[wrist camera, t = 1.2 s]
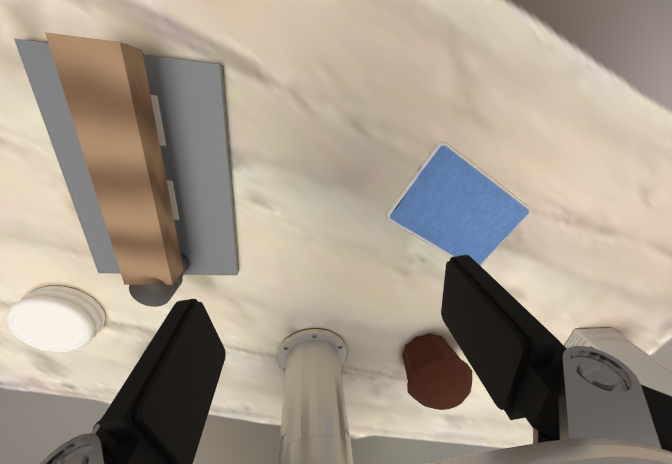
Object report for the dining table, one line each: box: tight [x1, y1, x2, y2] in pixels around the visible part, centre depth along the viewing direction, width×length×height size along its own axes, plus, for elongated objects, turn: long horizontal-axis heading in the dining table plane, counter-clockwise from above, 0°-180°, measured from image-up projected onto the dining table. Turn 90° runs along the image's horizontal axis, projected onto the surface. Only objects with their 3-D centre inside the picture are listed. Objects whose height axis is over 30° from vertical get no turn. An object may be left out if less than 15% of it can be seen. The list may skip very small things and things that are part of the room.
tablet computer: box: [386, 141, 530, 265], centre depth 38 cm, size 19×13×1 cm, turn 58°
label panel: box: [14, 39, 239, 276], centre depth 30 cm, size 26×18×4 cm
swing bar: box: [45, 33, 183, 307], centre depth 26 cm, size 26×5×3 cm, turn 175°
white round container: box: [6, 286, 106, 352], centre depth 37 cm, size 10×10×4 cm
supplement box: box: [565, 328, 672, 396], centre depth 48 cm, size 9×9×15 cm
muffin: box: [403, 333, 472, 410], centre depth 46 cm, size 12×11×10 cm
